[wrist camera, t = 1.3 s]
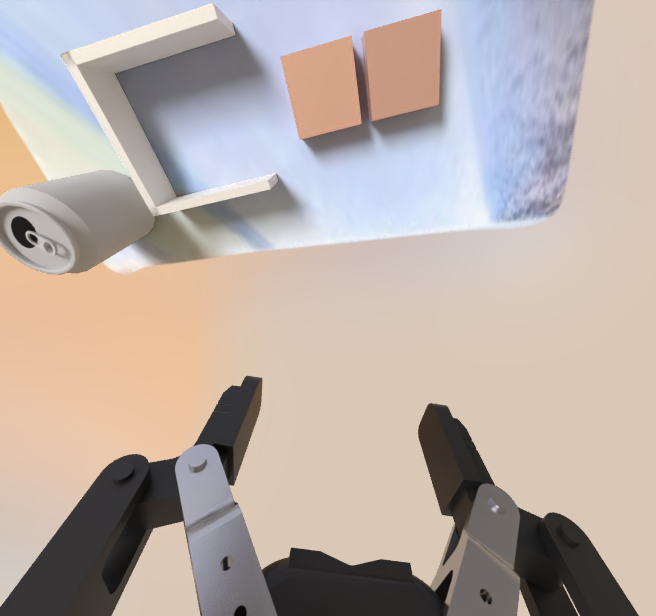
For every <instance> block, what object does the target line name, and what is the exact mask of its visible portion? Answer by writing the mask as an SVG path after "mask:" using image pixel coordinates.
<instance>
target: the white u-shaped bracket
mask: <svg viewBox="0 0 656 616" xmlns="http://www.w3.org/2000/svg"><path fill="white" fill-rule="evenodd" d="M235 35H236V34H235V31H234V27H233V24H232V22H231V21H230V20H229V19H228V18H227V17H226V16H225V15H224V14H223V13H222V12H221V11H220V10H219V9H218V8H217V7H216V6H215V5H214V4H213V3H210V4H207V5H205V6H202V7H199V8H196V9H193V10H190V11H187V12H184V13H181V14H178V15H175V16H172V17H169V18H166V19H163V20H160V21H157V22H154V23H151V24H148V25H145V26H142V27H139V28H137V29H134V30H131V31H128V32H125V33H122V34H119V35H116V36H113V37H110V38H107V39H104V40H101V41H98V42H95V43H92V44H89V45H86V46H83V47H80V48H77V49H74V50H71V51H68V52H66V53H63V54H60V56H61V57H62V59H63V61H64V62H65V64H66V66H67V68H68V69H69V71H70V73H71V75H72V76H73V78H74V80H75V82H76V83H77V85H78V87H79V88H80V90H81V92H82V94H83V95H84V97H85V99H86V101H87V102H88V104H89V106H90V108H91V109H92V111H93V113H94V114H95V116H96V118H97V120H98V121H99V123H100V125H101V127H102V128H103V130H104V132H105V134H106V135H107V137H108V139H109V140H110V142H111V144H112V146H113V147H114V149H115V151H116V153H117V154H118V156H119V158H120V160H121V161H122V163H123V165H124V166H125V168H126V170H127V172H128V173H129V175H130V177H131V179H132V180H133V182H134V184H135V186H136V187H137V189H138V191H139V192H140V194H141V196H142V198H143V199H144V201H145V203H146V205H147V206H148V208H149V210H150V212H151V213H152V215H153V217H154V216H158V215H162V214H167V213H171V212H175V211H180V210H184V209H188V208H192V207H197V206H201V205H205V204H210V203H214V202H218V201H223V200H227V199H231V198H235V197H240V196H244V195H248V194H253V193H257V192H261V191H265V190H270V189H271V188H272V187H273V186H274V185H275V184H276V183H277V182H278V178H277V175H276V173H274V174H270V175H266V176H262V177H258V178H254V179H250V180H245V181H241V182H237V183H233V184H229V185H225V186H220V187H216V188H212V189H208V190H204V191H200V192H195V193H191V194H187V195H183V196H179V197H177V196H176V194H175V192H174V190H173V188H172V186H171V184H170V182H169V180H168V178H167V176H166V174H165V172H164V170H163V168H162V166H161V164H160V162H159V160H158V158H157V156H156V154H155V152H154V150H153V148H152V146H151V144H150V142H149V140H148V138H147V137H146V135H145V133H144V131H143V129H142V127H141V125H140V123H139V121H138V119H137V117H136V115H135V113H134V111H133V109H132V107H131V105H130V103H129V101H128V99H127V97H126V95H125V93H124V91H123V89H122V87H121V85H120V83H119V81H118V79H117V77H116V75H115V73H118V72H121V71H125V70H128V69H131V68H134V67H137V66H140V65H143V64H147V63H150V62H153V61H156V60H159V59H162V58H166V57H169V56H172V55H175V54H178V53H181V52H184V51H188V50H191V49H194V48H197V47H200V46H203V45H207V44H210V43H213V42H216V41H219V40H222V39H225V38H229V37H232V36H235Z"/></svg>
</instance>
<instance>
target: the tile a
mask: <svg viewBox="0 0 656 616" xmlns="http://www.w3.org/2000/svg"><path fill="white" fill-rule="evenodd" d="M281 61H282V65H283V70H284V74H285V78H286V83H287V87H288V91H289V96H290V100H291V104H292V109H293V113H294V117H295V121H296V126H297V130H298V134H299V139H300V140H301V139H305V138H309V137H313V136H317V135H320V134H324V133H328V132H332V131H336V130H340V129H344V128H348V127H352V126H356V125H360V124H362V122H361V113H360V105H359V96H358V88H357V79H356V70H355V62H354V53H353V45H352V36H349V37H345V38H342V39H339V40H335V41H332V42H329V43H325V44H322V45H319V46H315V47H312V48H309V49H305V50H302V51H299V52H295V53H292V54H289V55H285V56H282V57H281Z"/></svg>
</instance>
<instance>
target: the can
mask: <svg viewBox="0 0 656 616" xmlns="http://www.w3.org/2000/svg"><path fill="white" fill-rule="evenodd" d="M154 224H155V216H154V217H153V215H152V213H151V212H150V210H149V208H148V206H147V205H146V203H145V201H144V199H143V198H142V196H141V194H140V192H139V191H138V189H137V187H136V186H135V184H134V182H133V180H131V179H130V178H128V177H127V176H125V175H123V174H120V173H118V172H115V171H109V170H100V171H95V172H90V173H85V174H80V175H75V176H71V177H66V178H61V179H56V180H51V181H47V182H42V183H37V184H32V185H28V186H23V187H19V188H14V189H11V190H8V191H5V192H4V193H3V195H2V196H1V197H0V245H1V246H2V247H3V248H4V249H5V250H6V251H7V252H8V253H9V254H10V255H11V256H13V257H14V258H15V259H17V260H18V261H19V262H21V263H22V264H24V265H26V266H29V267H30V268H32V269H34V270H37V271H40V272H44V273H47V274H58V275H60V274H64V273H80V272H84V271H88V270H89V269H91V268H93V267H94V266H96V265H97V264H99V263H101V262H103V261H104V260H106V259H108V258H109V257H111V256H112V255H114V254H116V253H117V252H119V251H121V250H122V249H124V248H126V247H127V246H129V245H131V244H132V243H134V242H136V241H137V240H139V239H140V238H142V237H144V236H145V235H147V234H148V233H149V232H150V231H152V228H153V226H154Z"/></svg>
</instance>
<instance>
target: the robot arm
mask: <svg viewBox="0 0 656 616" xmlns="http://www.w3.org/2000/svg"><path fill="white" fill-rule="evenodd" d="M261 396H262V378H258V377H251V376H246V377H245V378H244V380H243V382H242V385H241V387H240V386H231V387H230V388H229V389H227V390H226V391H225V392H224V393H223V394H222V396H221V398H220V400H219V402H218V404H217V405H216V407H215V409H214V412H213V413H212V415H211V417H210V418H209V420H208V422H207V424H206V425H205V427H204V429H203V431H202V433H201V434H200V436H199V438H198V440H197V442H196V443H195V445H194V446H193V447H191V448H189V449H188V450H186V451H185V452H183V454H182V455H181V456H179V457H176V458H173V459H169V460H163V461H157V462H151V463H149V462H148V460H147V459H146V457H144V456H142V455H138V454H132V455H127V456H123V457H121V458H119V459H117V460H115V461H113V462H112V463H110V464H109V465H108V466H107V467H106V468H105V469H104V470H103V471H102V472H101V473H100V475H99V476H98V477H97V479H96V480H95V481H94V483H93V484H92V485H91V487H90V488H89V490H88V491H87V492H86V494H85V495H84V496H83V497H82V499H81V500H80V501H79V503H78V504H77V506H76V507H75V508H74V510H73V511H72V512H71V514H70V515H69V516H68V518H67V519H66V520H65V522H64V523H63V524H62V526H61V527H60V528H59V530H58V531H57V532H56V534H55V535H54V536H53V538H52V539H51V540H50V542H49V543H48V544H47V546H46V547H45V548H44V550H43V551H42V552H41V554H40V555H39V556H38V558H37V559H36V561H35V562H34V563H33V564H32V566H31V567H30V568H29V570H28V571H27V572H26V574H25V575H24V576H23V578H22V579H21V580H20V582H19V583H18V584H17V586H16V587H15V588H14V590H13V591H12V592H11V594H10V595H9V597H8V598H7V599H6V600H5V602H4V603H3V604H2V606H1V607H0V616H111V615H112V613H113V611H114V609H115V607H116V605H117V603H118V601H119V599H120V596H121V594H122V592H123V590H124V588H125V586H126V584H127V582H128V580H129V578H130V576H131V574H132V572H133V570H134V568H135V565H136V563H137V561H138V559H139V557H140V555H141V553H142V551H143V549H144V547H145V545H146V543H147V540H148V539H149V536H150V534H151V532H152V530H153V528H157V527H161V526H165V525H169V524H173V523H178V522H182V521H184V527H185V532H186V538H187V543H188V549H189V554H190V559H191V565H192V570H193V575H194V582H195V587H196V593H197V599H198V604H199V610H200V615H201V616H517V609H518V601H519V591H520V590H521V593H522V595H523V598H524V600H525V603H526V606H527V608H528V611H529V613H530V616H578V614H577V612H576V610H575V608H574V606H573V604H572V602H571V601H570V599H569V597H568V595H567V593H566V591H565V589H564V587H563V584H564V585H565V587H566V589H567V591H568V593H569V595H570V597H571V599H572V601H573V603H574V605H575V607H576V609H577V611H578V613H579V615H580V616H639V615H638V614H637V612H636V611H635V609H634V608H633V606H632V605H631V603H630V601H629V600H628V599H627V597H626V595H625V594H624V592H623V591H622V589H621V588H620V586H619V584H618V583H617V581H616V580H615V578H614V577H613V575H612V574H611V572H610V570H609V569H608V567H607V566H606V565H605V563H604V561H603V560H602V558H601V557H600V555H599V553H598V552H597V550H596V549H595V547H594V546H593V544H592V543H591V541H590V540H589V538H588V537H587V536H586V534H585V533H584V532H583V531H582V530H581V529H580V528H579V527H578V526H577V525H576V524H575V523H574V522H572V521H571V520H570V519H568V518H567V517H565V516H563V515H561V514H558V513H548V514H547V515H546V516H545V517H544V518H543V519H542V518H540V517H538V516H536V515H534V514H531V513H529V512H527V511H525V510H523V509H520V508H519V507H517V505H516V504H515V502H514V501H513V500H512V498H511V497H510V496H509V495H508V494H507V493H506V492H505V491H503V490H502V489H500V488H499V487H497V486H495V484H494V482H493V480H492V479H491V477H490V475H489V473H488V471H487V469H486V467H485V465H484V463H483V461H482V459H481V457H480V455H479V453H478V451H477V450H476V447H475V445H474V443H473V442H472V439H471V437H470V435H469V433H468V431H467V429H466V428H465V427H464V425H463V424H462V423H461V422H460V421H459V420H458V419H456V418H453V417H452V415H451V413H450V410H449V408H448V407H447V406H446V405H439V404H432V403H431V404H429V405H428V406H427V408H426V410H425V413H424V415H423V417H422V420H421V422H420V425H419V429H418V435H419V441H420V444H421V447H422V450H423V454H424V457H425V460H426V464H427V467H428V470H429V474H430V477H431V480H432V484H433V487H434V490H435V493H436V497H437V500H438V503H439V507H440V510H441V513H442V515H446V516H453V519H454V522H455V524H454V526H453V527H452V530H451V533H450V536H449V539H448V542H447V545H446V548H445V551H444V554H443V557H442V560H441V563H440V566H439V569H438V571H437V574H436V576H435V578H434V580H433V582H432V584H431V586H430V587H429V586H428V585H427V584H426V583H424V582H423V581H422V580H420V579H419V578H417V577H416V576H414V575H412V570H411V565H410V563H405V562H398V561H390V560H383V559H381V560H376V561H371V562H367V563H363V564H359V565H353V566H351V565H348V564H346V563H344V562H341V561H339V560H337V559H335V558H333V557H331V556H329V555H327V554H325V553H323V552H321V551H314V550H313V551H312V550H306V549H298V548H291V551H290V556H289V557H288V558H284V559H281V560H278V561H276V562H274V563H272V564H270V565H268V566H267V567H265V568H264V569H263V570H261V567H260V564H259V561H258V558H257V555H256V553H255V549H254V547H253V544H252V541H251V538H250V535H249V532H248V529H247V526H246V523H245V520H244V517H243V515H242V512H241V509H240V507H239V505H238V503H235V501H234V499H233V496H232V493H231V490H230V487H229V485H234V484H235V480H236V477H237V475H238V472H239V469H240V466H241V464H242V461H243V458H244V455H245V452H246V449H247V446H248V443H249V441H250V438H251V435H252V432H253V429H254V426H255V423H256V421H257V418H258V415H259V411H260V406H261Z"/></svg>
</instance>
